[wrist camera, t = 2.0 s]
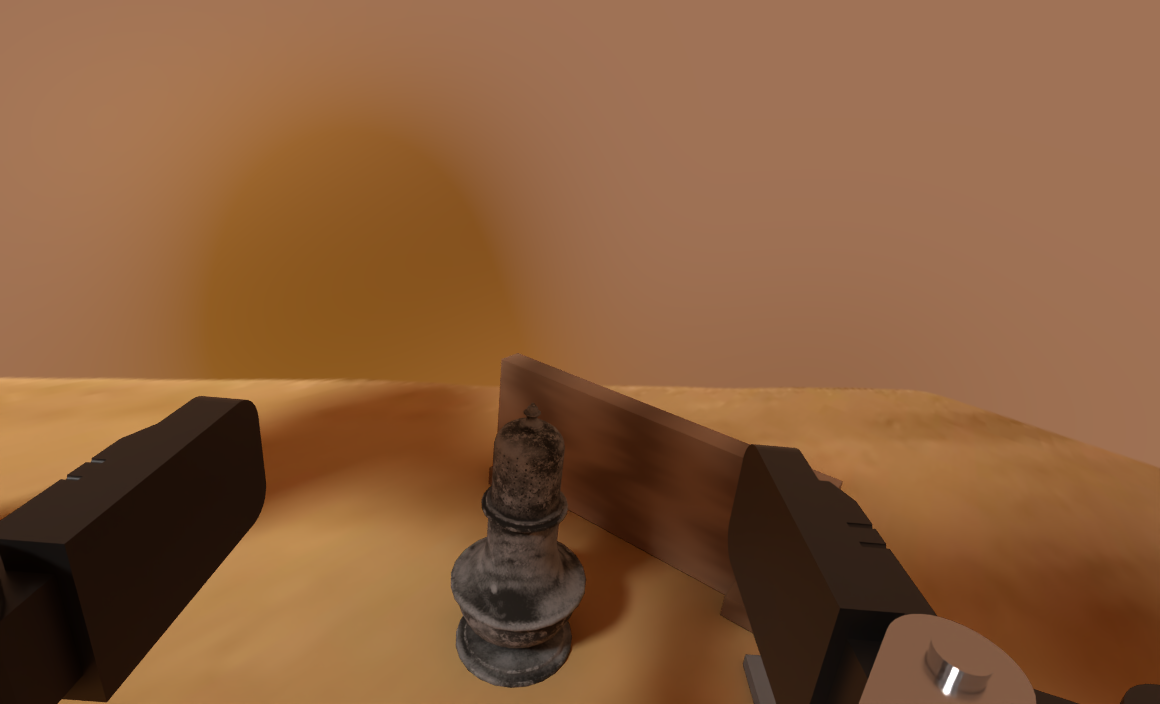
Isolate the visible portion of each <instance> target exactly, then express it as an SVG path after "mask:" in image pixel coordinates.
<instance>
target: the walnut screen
mask: <svg viewBox="0 0 1160 704" xmlns="http://www.w3.org/2000/svg"><path fill="white" fill-rule="evenodd" d="M531 403H535V405H536V406H537V407H538V410H540V411H541V415H540V416H538V417H537V418H538V419H541V420H543V421H546V422H548V423H550V424H551V425H553V426H554V427H556V428H557V430H558V431H559V432H560V434H561V435H562V436H563V440H564V445H565V452H564V461H563V471H562V480H561V490H560V491H561V492H562V493H563V494H564V496H565V497H566V499H567V503H568V510H570V511H572V512H574V513H576V514H577V515H579V516H581V517H583V518H585V519H587V520H588V521H590V522H592V523H594V524H596V525H598V526H599V527H601V528H603V529H605V530H607V531H609V532H610V533H612V534H614V535H616V536H618V537H620V538H622V539H623V540H625V541H627V542H629V543H631V544H633V545H634V546H636V547H638V548H640V549H642V550H644V551H645V552H647V553H649V554H651V555H653V556H655V557H656V558H658V559H660V560H662V561H664V562H666V563H667V564H669V565H671V566H673V567H675V568H677V569H679V570H680V571H682V572H684V573H686V574H688V575H690V576H691V577H693V578H695V579H697V580H699V581H701V582H702V583H704V584H706V585H708V586H710V587H712V588H713V589H715V590H717V591H719V592H721V593H723V594H725V597H724V601H723V605H722V609H721V613H720V615H722V616H724V617H725V618H727V619H729V620H731V621H732V622H734V623H736V624H738V625H739V626H741V627H743V628H745V629H747V630H748V631H750V632H752V633H753V631H752V628H751V625H750V622H749V619H748V616H747V613H746V609H745V606H744V603H743V600H742V597H741V594H740V591H739V588H738V585H737V582H736V579H735V576H734V573H733V570H732V567H731V563H730V559H729V553H728V527H729V521H730V516H731V512H732V507H733V503H734V498H735V493H736V489H737V484H738V480H739V475H740V471H741V466H742V461H743V457H744V454H745V451H746V449H747V448H748V446H749V444H747V443H744V442H742V441H739V440H737V439H734V438H732V437H729V436H727V435H724V434H722V433H719V432H716V431H714V430H711V429H709V428H706V427H704V426H701V425H699V424H696V423H694V422H691V421H689V420H686V419H684V418H681V417H678V416H676V415H673V414H671V413H668V412H666V411H663V410H661V409H658V408H656V407H653V406H651V405H648V404H646V403H643V402H640V401H638V400H635V399H633V398H630V397H628V396H625V395H623V394H620V393H618V392H615V391H613V390H610V389H608V388H605V387H602V386H600V385H597V384H595V383H592V382H590V381H587V380H585V379H582V378H580V377H577V376H574V375H572V374H569V373H567V372H564V371H562V370H559V369H557V368H554V367H551V366H549V365H547V364H544V363H541V362H539V361H537V360H534V359H531V358H529V357H526V356H523V355H521V354H519V353H517V354H515V355H512V356H509V357H507V358H504V359H502V363H501V380H500V398H499V415H498V431H499V430H500V429H501V428H502V427H503V426H504V425H505V424H507V423H508V422H510V421H513V420H516V419H519V418H526V417H527V416H526V415H525V414H524V412H523V411H524V410H525V409H527V407H528V406H529V405H531ZM812 470H813V469H812ZM813 472H814V473H815V475H816V476H817V478H818V479H819V480H821V481H830V482H831V483H833V484H834V485H835V486H836V487H838V488H839V489H841V486H842V482H843V481H841V480H838V479H836V478H833V477H831V476H828V475H825V474H823V473H820V472H818V471H815V470H813ZM492 473H493V466H492V467H490V469H489V484H490V485H492Z"/></svg>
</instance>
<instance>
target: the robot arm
mask: <svg viewBox="0 0 1160 704" xmlns="http://www.w3.org/2000/svg"><path fill="white" fill-rule="evenodd" d="M265 494H266V479H265V470H264V461H263V453H262V444H261V435H260V427H259V418H258V412H257V409H256V407H255V405H254V404H253V403H252V402H251V401H249V400H241V399H230V398H218V397H206V396H198V397H195V398H194V399H192V400H190V401H189V402H188V403H186V404H185V405H183V406H182V407H181V408H179V409H178V410H176V411H175V412H173V413H172V414H171V415H169V416H168V417H166V418H165V419H164V420H162V421H161V422H159V423H158V424H155V425H153V426H150V427H148V428H145V429H143V430H141V431H138V432H136V433H133V434H131V435H128V436H126V437H123V438H121V439H119V440H118V441H116V442H115V443H113V444H112V445H110V446H109V447H108V448H106V449H105V450H103V451H102V452H100V453H99V454H97V455H96V456H94V457H93V458H92V461H91V463H88V462H86V463H84V464H83V465H81V466H80V467H78V468H77V469H75V470H74V471H72V472H71V473H69V474H68V475H67V479H66V480H62V479H61V480H59V481H58V482H56V483H55V484H53V485H52V486H50V487H49V488H47V489H46V490H44V491H43V492H42V493H40V494H39V495H37V496H36V497H34V498H33V499H31V500H30V501H28V502H27V503H25V504H24V505H22V506H21V507H20V508H18V509H17V510H15V511H14V512H12V513H11V514H9V515H8V516H6V517H5V518H3V519H2V520H0V704H58V702H59V701H60V700H61V699H68V700H82V701H96V702H107V701H108V700H109V699H110V698H111V697H112V695H113V694H114V693H115V692H116V691H117V689H118V688H119V687H120V686H121V684H122V683H123V682H124V681H125V680H126V678H127V677H128V676H129V675H130V674H131V672H132V671H133V670H134V669H135V668H136V666H137V665H138V664H139V663H140V661H141V660H142V659H143V658H144V657H145V655H146V654H147V653H148V652H149V651H150V649H151V648H152V647H153V646H154V644H155V643H156V642H157V641H158V640H159V638H160V637H161V636H162V635H163V634H164V632H165V631H166V630H167V629H168V628H169V626H170V625H171V624H172V623H173V621H174V620H175V619H176V618H177V617H178V615H179V614H180V613H181V612H182V611H183V609H184V608H185V607H186V606H187V604H188V603H189V602H190V601H191V600H192V598H193V597H194V596H195V595H196V594H197V592H198V591H199V590H200V589H201V588H202V586H203V585H204V584H205V583H206V581H207V580H208V579H209V578H210V577H211V575H212V574H213V573H214V572H215V571H216V569H217V568H218V567H219V566H220V564H221V563H222V562H223V561H224V560H225V558H226V557H227V556H228V555H229V554H230V552H231V551H232V550H233V549H234V547H235V546H236V545H237V544H238V543H239V541H240V540H241V539H242V538H243V537H244V535H245V534H246V533H247V532H248V531H249V529H250V528H251V527H252V526H253V524H254V523H255V522H256V520H257V518H258V517H259V515H260V512H261V510H262V507H263V504H264V500H265ZM728 553H729V559H730V563H731V567H732V570H733V573H734V576H735V579H736V582H737V585H738V588H739V591H740V594H741V597H742V600H743V603H744V606H745V609H746V613H747V616H748V619H749V622H750V625H751V628H752V631H753V634H754V637H755V640H756V643H757V646H758V649H759V652H760V656H761V659H762V662H763V665H764V668H765V671H766V674H767V677H768V680H769V683H770V686H771V689H772V692H773V695H774V698H775V702H776V704H1078V703H1075V702H1072V701H1069V700H1066V699H1063V698H1060V697H1056V696H1053V695H1050V694H1047V693H1044V692H1041V691H1038V690H1035V689H1033V687H1032V685H1031V683H1030V681H1029V680H1028V678H1027V676H1026V675H1025V674H1024V672H1023V671H1022V670H1021V668H1020V667H1019V666H1018V665H1017V664H1016V663H1015V662H1014V660H1013V659H1012V658H1011V657H1010V656H1009V655H1007V654H1006V653H1005V652H1004V651H1003V650H1002V649H1001V648H999V647H998V646H997V645H995V644H994V643H993V642H991V641H990V640H988V639H987V638H985V637H984V636H982V635H980V634H979V633H977V632H975V631H973V630H971V629H969V628H968V627H966V626H963V625H961V624H959V623H956V622H954V621H951V620H948V619H945V618H942V617H938V616H937V615H936V614H935V612H934V611H933V609H932V608H931V606H930V605H929V604H928V602H927V601H926V599H925V598H924V597H923V595H922V594H921V592H920V591H919V590H918V588H917V587H916V585H915V584H914V583H913V581H912V580H911V578H910V577H909V575H908V574H907V573H906V571H905V570H904V568H903V567H902V566H901V564H900V563H899V561H898V560H897V559H896V557H895V556H894V554H893V553H892V551H891V550H890V549H886V543H885V542H884V540H883V539H882V537H881V536H880V535H879V533H878V532H877V530H876V529H872V523H871V522H870V520H869V519H868V518H867V516H866V515H865V513H864V512H863V511H862V509H861V508H860V506H859V505H858V504H857V502H856V501H855V500H853V499H852V498H851V497H850V496H848V495H847V494H846V493H844V492H843V491H842V490H840V489H839V488H838V487H836V486H835V485H834V484H833V483H831V482H830V481H821V480H819V479H818V478H817V476H816V475H815V473H814V472H813V470H812V469H811V467H810V465H809V464H808V462H807V461H806V459H805V458H804V456H803V455H802V453H801V452H800V450H798V449H797V448H789V447H778V446H766V445H754V444H751V445H749V446H748V448H747V449H746V451H745V454H744V457H743V461H742V466H741V471H740V475H739V480H738V484H737V489H736V493H735V498H734V503H733V507H732V512H731V516H730V521H729V527H728ZM1120 704H1160V685H1155V684H1143V685H1137V686H1134V687H1132V688H1130V689H1129V690H1128V691H1127V692H1126V694H1125V695H1124V697H1123V699H1122V700H1121V702H1120Z"/></svg>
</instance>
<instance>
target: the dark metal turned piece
mask: <svg viewBox="0 0 1160 704" xmlns="http://www.w3.org/2000/svg"><path fill="white" fill-rule="evenodd" d="M523 412H524V414H525V415H526V416H527V417H526V418H519V419H516V420H513V421H510V422H508V423H507V424H505V425H504V426H503V427H502V428H501V429H500V430H499V431H498V433H497V435H496V438H495V441H494V455H493V473H492V486H491V487H489V488H488V489H487V490H486V492H485V493H484V495H483V497H482V510H483V512H484V514H485V516H486V517H487V518H488V530H487V537H485V538H483V539H481V540H478V541H477V542H475V543H474V544H472V545H471V546H470V547H468V548H467V549H465V550H464V551H463V553H462V554H461V555H460V556H459V557H458V559H457V560H456V562H455V564H454V567H453V569H452V572H451V589H452V592H453V595H454V598H455V600H456V602H457V603H458V604H459V606H460V609H461V611H462V614H463V617H462V619H461V620H460V623H459V625H458V628H457V631H456V648H457V651H458V654H459V657H460V660H461V661H462V662H463V664H464V665H465V667H466V668H467V669H468V670H469V671H470V672H471V673H473V674H474V675H475V676H476V677H478V678H479V679H481V680H483V681H486V682H488V683H490V684H493V685H497V686H503V687H510V688H512V687H524V686H529V685H532V684H535V683H539V682H542V681H543V680H545V679H547V678H548V677H550V676H551V675H553V674H555V673H556V672H557V670H558V669H559V668H560V667H561V666H562V665H563V664H564V663H565V661H566V659H567V656H568V654H569V652H570V648H571V640H572V635H571V629H570V625H569V623H568V619H569V618H570V616H571V614H572V612H573V610H574V609H575V608H576V607H577V606H578V605H579V603H580V601H581V599H582V597H583V595H584V592H585V583H586V577H585V573H584V569H583V566H582V564H581V563H580V561H579V559H578V558H577V556H576V555H575V554H574V553H573V552H572V551H571V550H569V549H568V548H567V547H566V546H565V545H563V544H562V543H560V542H558V541H557V535H558V526H559V523H560V522H561V521H563V519H564V518H565V516H566V514H567V510H568V503H567V499H566V497H565V496H564V494H563V493H562V492H561V491H560V490H561V480H562V471H563V461H564V452H565V445H564V440H563V436H562V435H561V434H560V432H559V431H558V430H557V428H556V427H554V426H553V425H551V424H550V423H548V422H546V421H543V420H541V419H538V418H537V417H538V416H540V415H541V411H540V410H538V407H537V406H536V405H535V403H531V405H529V406H528V407H527V409H525V410H524V411H523Z"/></svg>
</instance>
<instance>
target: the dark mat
mask: <svg viewBox="0 0 1160 704" xmlns="http://www.w3.org/2000/svg"><path fill="white" fill-rule="evenodd" d="M743 666H744V670H745V673H746V677H747V680H748V684H749V687H750V691H751V695H752V698H753V702H754V704H776V702H775V698H774V695H773V692H772V689H771V686H770V683H769V680H768V677H767V674H766V671H765V668H764V665H763V662H762V659H761V656H759V655H747V654H746V655H745V658H744V662H743Z"/></svg>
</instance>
